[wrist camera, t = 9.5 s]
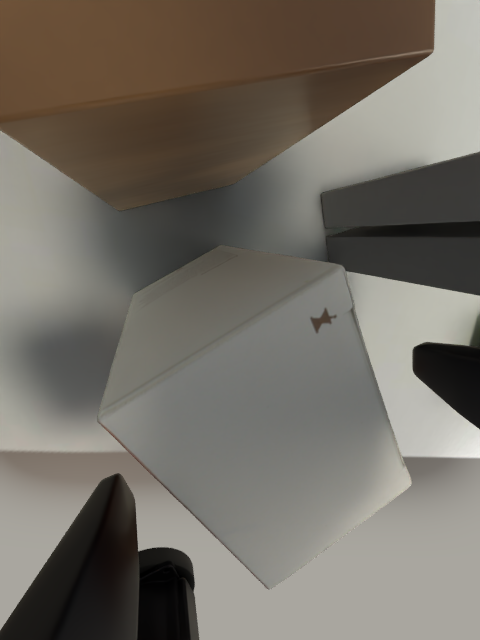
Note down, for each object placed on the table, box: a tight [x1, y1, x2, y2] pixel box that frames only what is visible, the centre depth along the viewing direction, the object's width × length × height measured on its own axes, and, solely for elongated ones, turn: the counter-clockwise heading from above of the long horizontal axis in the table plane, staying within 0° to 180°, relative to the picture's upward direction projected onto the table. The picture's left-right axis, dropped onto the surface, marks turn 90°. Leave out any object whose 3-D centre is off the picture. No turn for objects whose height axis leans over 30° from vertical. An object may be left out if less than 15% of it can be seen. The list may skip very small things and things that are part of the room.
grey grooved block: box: [321, 152, 480, 296], centre depth 13 cm, size 8×4×10 cm, turn 105°
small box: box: [97, 245, 411, 589], centre depth 11 cm, size 8×6×10 cm
